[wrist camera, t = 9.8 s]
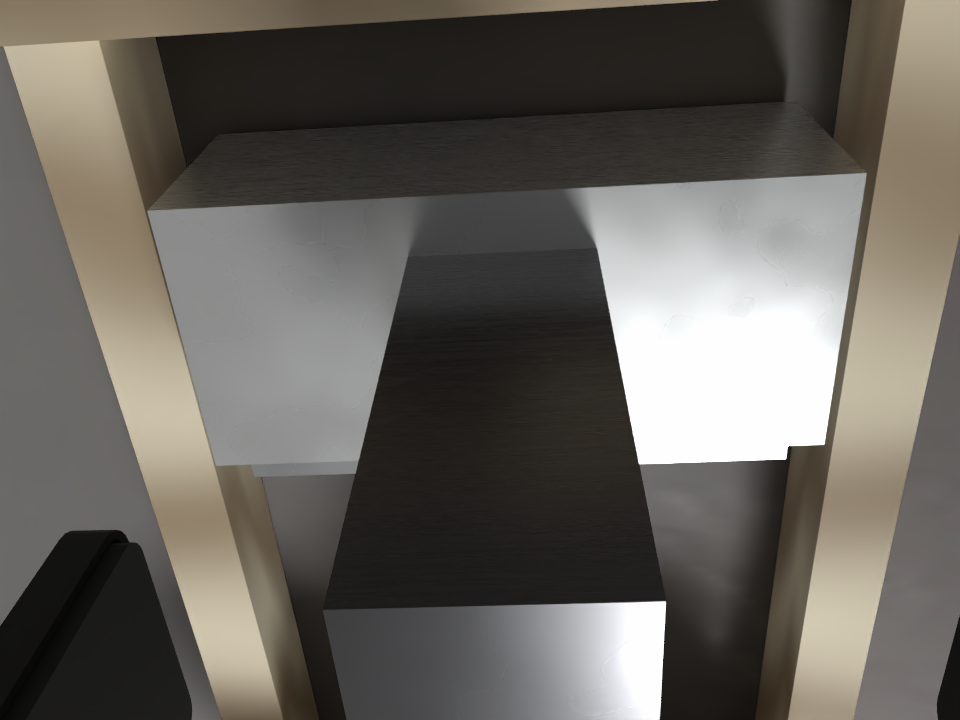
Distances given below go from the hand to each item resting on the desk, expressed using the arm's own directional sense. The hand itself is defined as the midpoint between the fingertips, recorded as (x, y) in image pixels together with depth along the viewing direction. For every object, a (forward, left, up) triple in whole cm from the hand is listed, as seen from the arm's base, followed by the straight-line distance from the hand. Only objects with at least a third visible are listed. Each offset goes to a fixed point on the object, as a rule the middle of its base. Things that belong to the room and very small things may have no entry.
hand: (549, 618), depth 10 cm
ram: (0, +1, -10) cm, 10 cm away
